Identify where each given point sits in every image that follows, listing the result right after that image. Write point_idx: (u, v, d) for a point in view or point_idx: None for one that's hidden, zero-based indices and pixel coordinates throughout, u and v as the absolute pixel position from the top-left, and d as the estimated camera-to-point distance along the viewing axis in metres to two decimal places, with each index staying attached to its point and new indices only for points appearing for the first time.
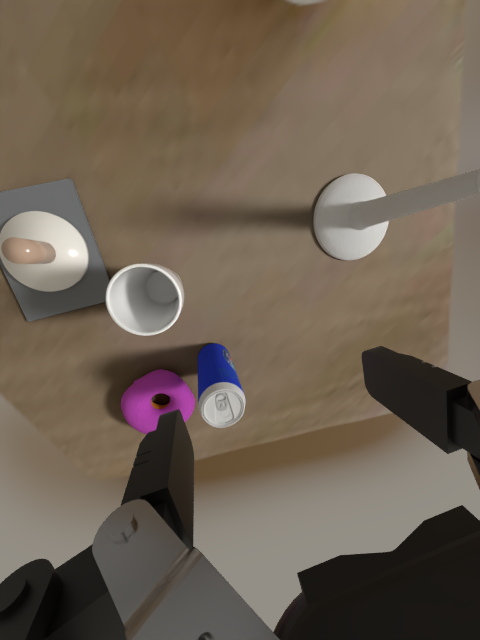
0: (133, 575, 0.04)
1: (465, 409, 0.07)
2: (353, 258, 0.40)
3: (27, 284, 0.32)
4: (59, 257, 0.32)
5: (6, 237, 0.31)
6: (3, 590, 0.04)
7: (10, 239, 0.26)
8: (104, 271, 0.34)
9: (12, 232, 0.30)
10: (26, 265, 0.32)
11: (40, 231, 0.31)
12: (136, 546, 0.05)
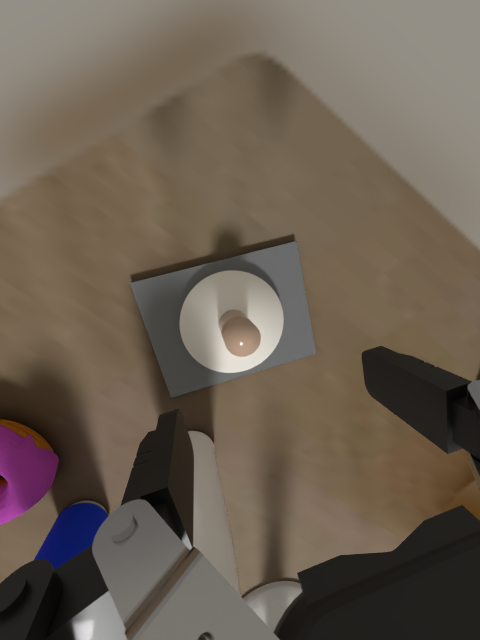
0: (133, 575, 0.04)
1: (465, 409, 0.07)
2: None
3: (189, 299, 0.22)
4: None
5: (252, 283, 0.23)
6: (3, 590, 0.04)
7: (257, 334, 0.19)
8: (209, 385, 0.25)
9: (258, 290, 0.23)
10: (215, 300, 0.23)
11: (259, 323, 0.24)
12: (136, 546, 0.05)
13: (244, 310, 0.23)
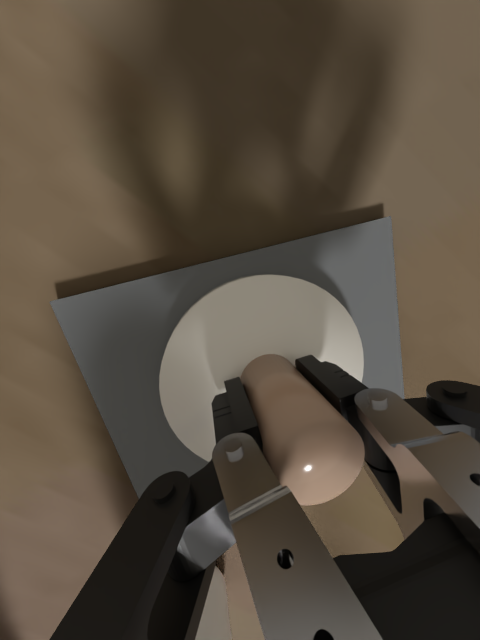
0: (259, 474, 0.06)
1: (353, 415, 0.07)
2: None
3: (179, 335, 0.10)
4: None
5: (309, 301, 0.11)
6: (159, 484, 0.06)
7: (358, 448, 0.07)
8: None
9: (320, 316, 0.11)
10: (234, 337, 0.11)
11: None
12: (242, 466, 0.06)
13: (291, 355, 0.12)
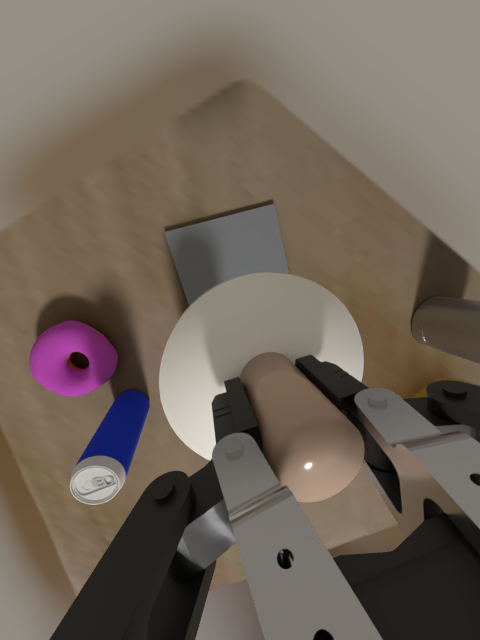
0: (259, 474, 0.06)
1: (352, 415, 0.07)
2: None
3: (179, 333, 0.10)
4: None
5: (309, 299, 0.11)
6: (160, 484, 0.06)
7: (358, 445, 0.07)
8: None
9: (320, 314, 0.11)
10: (234, 335, 0.11)
11: None
12: (242, 466, 0.06)
13: (291, 353, 0.12)
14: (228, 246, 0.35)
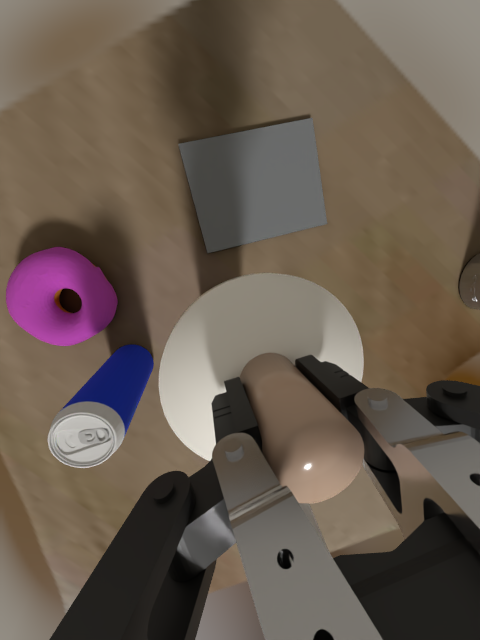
0: (259, 474, 0.06)
1: (352, 415, 0.07)
2: None
3: (178, 334, 0.10)
4: None
5: (308, 299, 0.11)
6: (159, 483, 0.06)
7: (358, 446, 0.07)
8: (239, 244, 0.31)
9: (319, 314, 0.11)
10: (234, 336, 0.11)
11: None
12: (242, 466, 0.06)
13: (290, 353, 0.12)
14: (255, 168, 0.29)
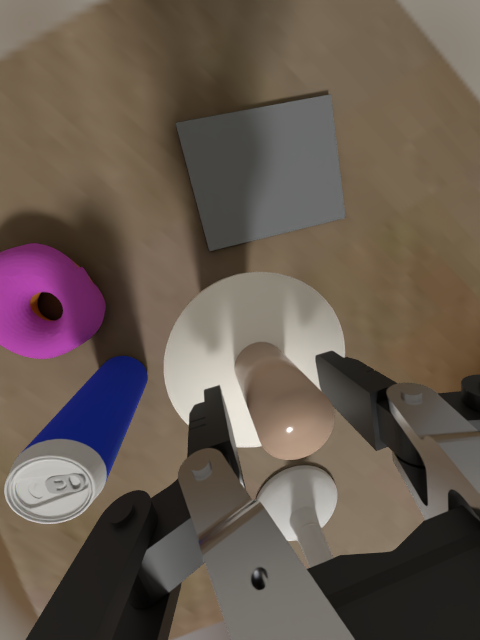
0: (222, 495, 0.05)
1: (384, 410, 0.07)
2: None
3: (181, 324, 0.12)
4: None
5: (295, 295, 0.13)
6: (117, 507, 0.05)
7: (329, 412, 0.09)
8: (245, 241, 0.27)
9: (305, 308, 0.13)
10: (229, 327, 0.12)
11: (305, 364, 0.14)
12: (210, 483, 0.06)
13: (280, 343, 0.13)
14: (264, 152, 0.25)
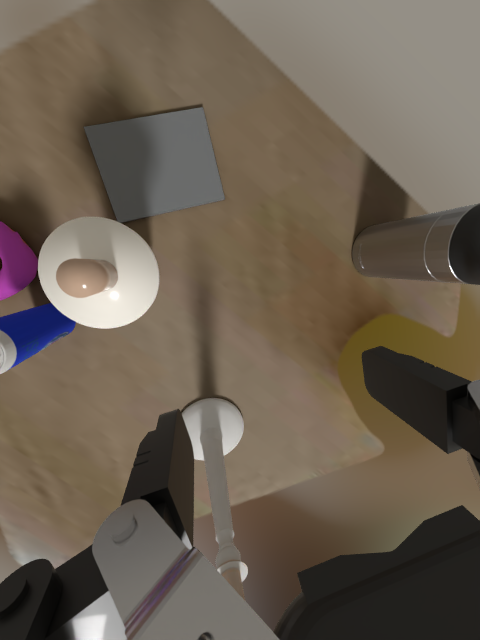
0: (133, 575, 0.04)
1: (465, 409, 0.07)
2: None
3: (46, 246, 0.21)
4: (97, 295, 0.23)
5: (117, 231, 0.22)
6: (3, 590, 0.04)
7: (95, 273, 0.18)
8: (146, 215, 0.36)
9: (125, 240, 0.22)
10: (77, 249, 0.21)
11: (131, 275, 0.23)
12: (137, 546, 0.05)
13: (112, 260, 0.22)
14: (155, 149, 0.34)
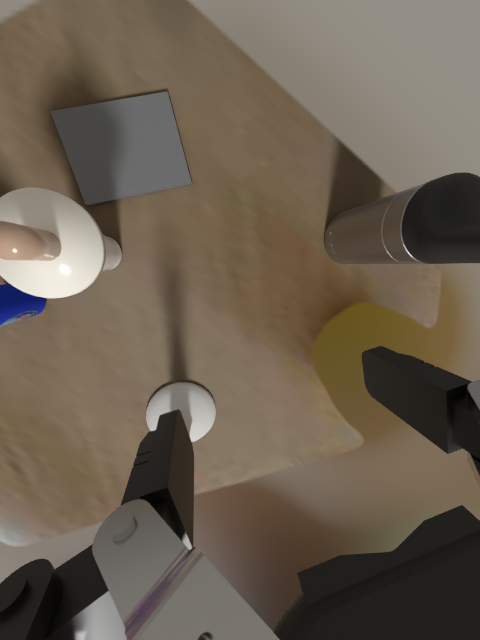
0: (133, 575, 0.04)
1: (465, 409, 0.07)
2: (147, 422, 0.45)
3: None
4: (41, 265, 0.23)
5: (59, 202, 0.23)
6: (3, 590, 0.04)
7: (21, 236, 0.18)
8: (113, 198, 0.37)
9: (67, 211, 0.23)
10: (20, 219, 0.22)
11: (75, 246, 0.24)
12: (137, 546, 0.05)
13: (55, 231, 0.23)
14: (120, 133, 0.35)
